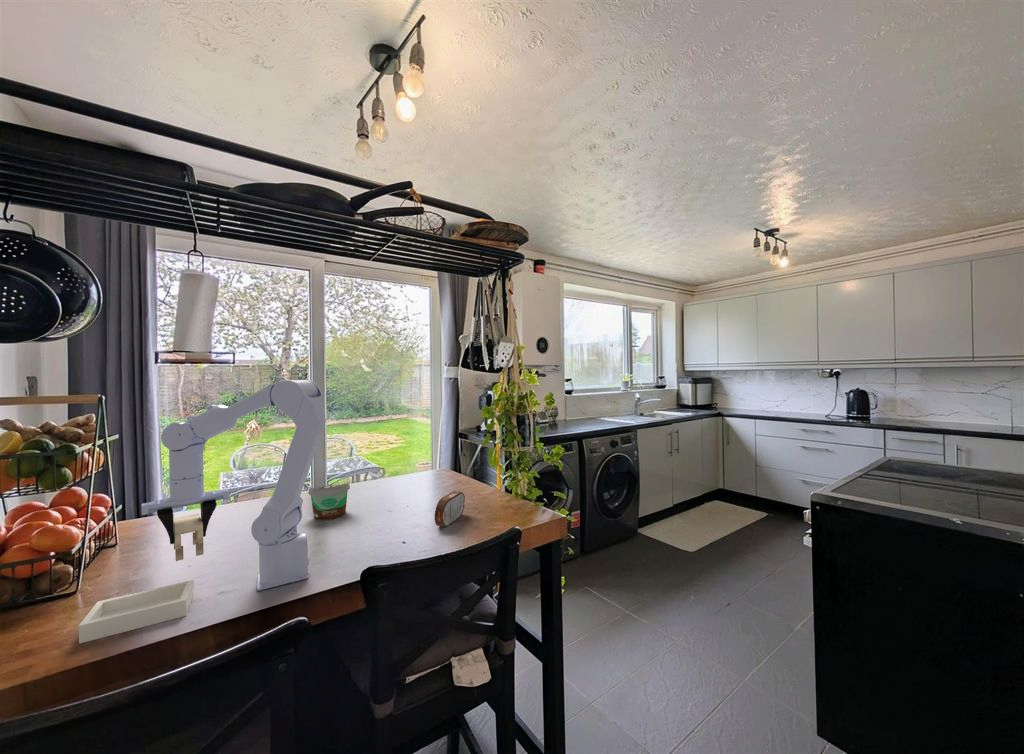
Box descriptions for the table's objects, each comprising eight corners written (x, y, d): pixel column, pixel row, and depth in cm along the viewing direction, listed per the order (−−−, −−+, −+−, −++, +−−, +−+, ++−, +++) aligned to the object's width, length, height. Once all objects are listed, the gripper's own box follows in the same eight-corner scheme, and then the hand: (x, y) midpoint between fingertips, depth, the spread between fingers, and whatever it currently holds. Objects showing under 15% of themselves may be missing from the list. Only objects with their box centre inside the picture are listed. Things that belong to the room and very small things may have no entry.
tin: (457, 513, 126) (457, 487, 126) (466, 514, 125) (466, 487, 125) (433, 530, 112) (433, 501, 112) (443, 532, 111) (442, 502, 111)
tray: (193, 594, 80) (193, 579, 80) (186, 615, 73) (186, 599, 73) (97, 617, 73) (97, 601, 73) (79, 643, 66) (78, 625, 66)
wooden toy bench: (173, 547, 87) (173, 518, 87) (199, 541, 90) (198, 513, 90) (175, 561, 81) (175, 529, 81) (203, 554, 84) (202, 523, 84)
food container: (312, 524, 118) (311, 491, 118) (308, 518, 123) (308, 487, 123) (354, 515, 125) (354, 484, 125) (349, 510, 130) (349, 480, 130)
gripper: (224, 468, 93) (225, 524, 93) (141, 479, 83) (142, 543, 83) (229, 473, 88) (231, 533, 88) (141, 486, 78) (142, 554, 78)
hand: (188, 539), depth 85 cm, fingers closed on wooden toy bench, 4 cm apart
